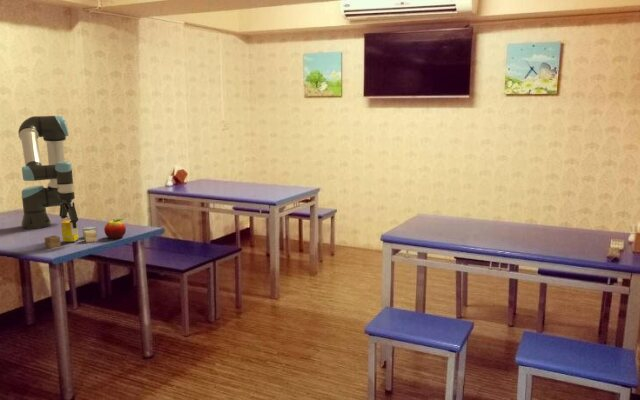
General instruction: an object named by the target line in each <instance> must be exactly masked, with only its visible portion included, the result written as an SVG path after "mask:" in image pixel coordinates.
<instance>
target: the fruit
mask: <svg viewBox="0 0 640 400" xmlns="http://www.w3.org/2000/svg"><path fill="white" fill-rule="evenodd" d="M124 220H125V218H117V219H114V218H113V219H112V220H110V221H107V223H106V224H105V226H104V229H103V231H104V234H105V236H106V237H107V238H108V239H113V240H117V239H121V238H123V237H124V236H125V234H126V232H127V231H126V230H127V229H126V224H124V222H123V221H124Z"/></svg>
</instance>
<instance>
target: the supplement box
mask: <svg viewBox="0 0 640 400" xmlns="http://www.w3.org/2000/svg"><path fill="white" fill-rule="evenodd" d="M70 221H71V220H70V219H68V220H65V221H63V222H62V221H61V222H60V224H61V225H60V227H61V234H62V243H63V244H71V243H72V244H73V243H76V242H78V241H79V239H80V238H79V233H78V234H75V235H72V232H71V223H70ZM77 231H78V227H77ZM78 232H79V231H78Z"/></svg>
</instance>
